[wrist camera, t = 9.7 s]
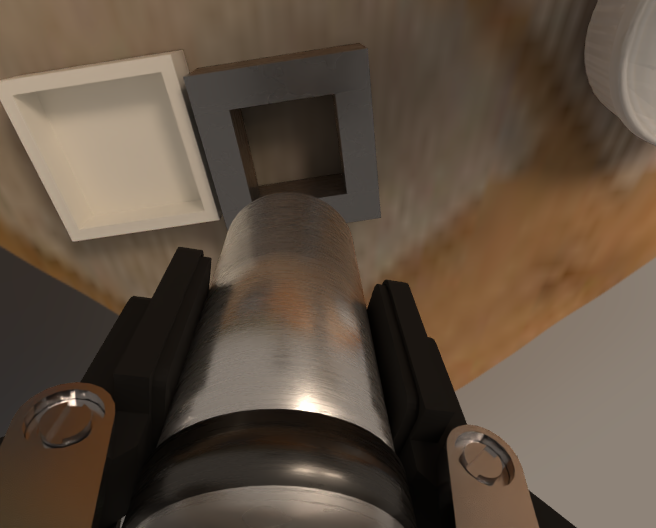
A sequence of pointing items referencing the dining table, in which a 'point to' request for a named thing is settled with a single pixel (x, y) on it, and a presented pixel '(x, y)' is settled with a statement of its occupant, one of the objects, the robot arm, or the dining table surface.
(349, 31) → the dining table surface
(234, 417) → the shiny metal canister
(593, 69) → the ramekin
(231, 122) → the block
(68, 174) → the tray
